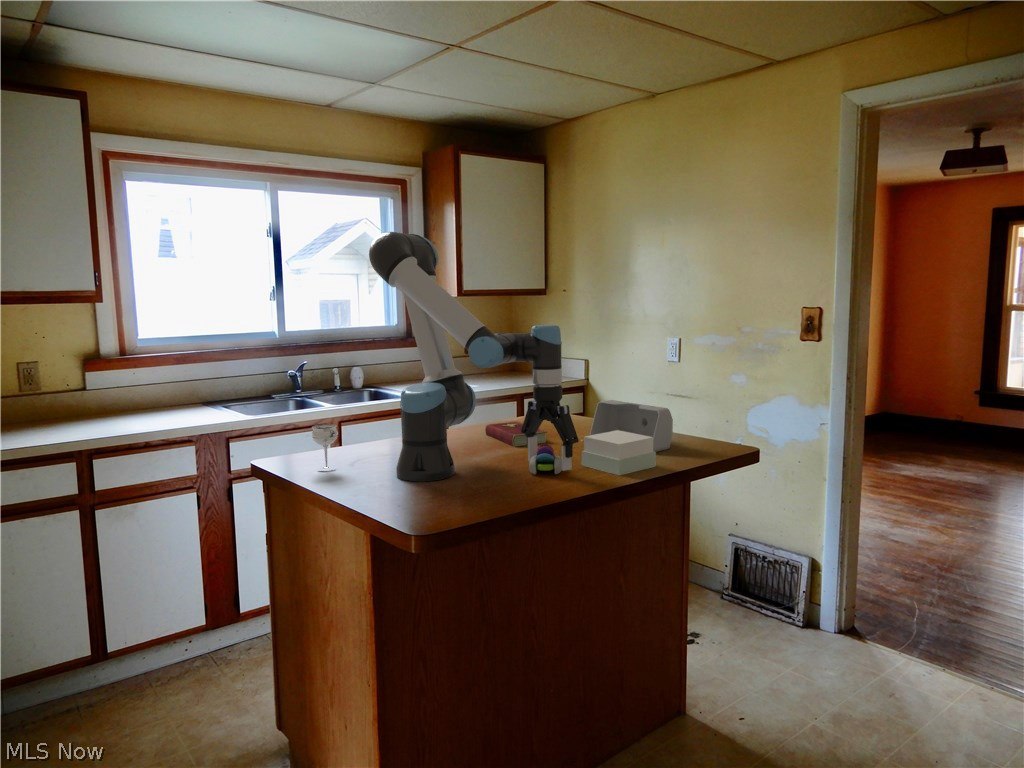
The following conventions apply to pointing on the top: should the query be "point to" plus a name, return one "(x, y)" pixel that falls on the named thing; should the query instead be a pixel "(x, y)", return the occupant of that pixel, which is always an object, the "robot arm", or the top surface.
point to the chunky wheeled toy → (545, 460)
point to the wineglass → (324, 436)
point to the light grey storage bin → (634, 421)
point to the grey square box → (618, 452)
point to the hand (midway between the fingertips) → (549, 465)
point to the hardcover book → (512, 433)
